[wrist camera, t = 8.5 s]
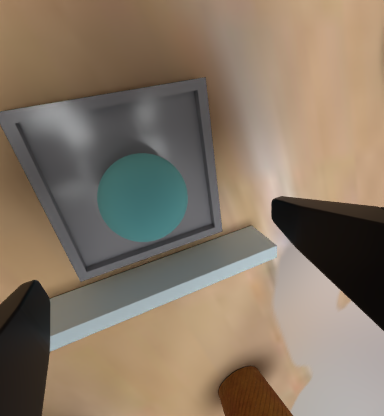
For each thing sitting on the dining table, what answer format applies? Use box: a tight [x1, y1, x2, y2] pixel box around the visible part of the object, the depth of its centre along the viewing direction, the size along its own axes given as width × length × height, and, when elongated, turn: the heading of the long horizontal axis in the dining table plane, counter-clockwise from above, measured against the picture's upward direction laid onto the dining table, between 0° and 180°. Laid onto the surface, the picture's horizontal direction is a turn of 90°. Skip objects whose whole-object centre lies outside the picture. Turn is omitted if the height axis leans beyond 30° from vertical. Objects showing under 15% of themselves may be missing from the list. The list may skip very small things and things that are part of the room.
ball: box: [97, 153, 188, 242], centre depth 13 cm, size 5×5×5 cm
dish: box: [0, 77, 222, 282], centre depth 15 cm, size 11×11×1 cm
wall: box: [50, 226, 277, 351], centre depth 18 cm, size 18×1×4 cm, turn 99°
